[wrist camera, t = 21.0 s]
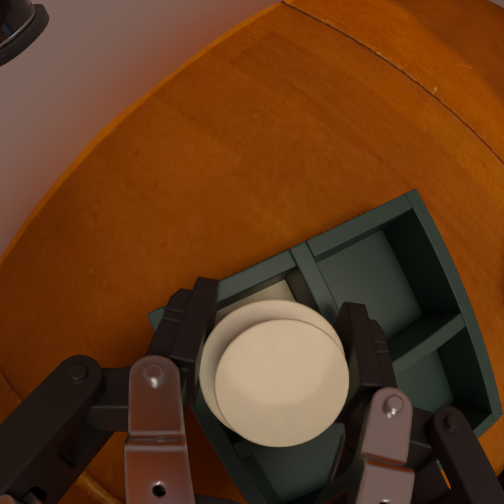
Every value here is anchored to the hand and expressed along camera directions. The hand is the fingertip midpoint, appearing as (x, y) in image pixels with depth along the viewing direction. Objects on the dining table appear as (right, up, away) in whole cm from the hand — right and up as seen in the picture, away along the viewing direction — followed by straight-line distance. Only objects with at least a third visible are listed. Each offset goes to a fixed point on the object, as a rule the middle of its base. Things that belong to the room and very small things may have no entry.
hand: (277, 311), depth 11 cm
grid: (+4, -5, +5) cm, 8 cm away
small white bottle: (0, -3, +4) cm, 4 cm away
